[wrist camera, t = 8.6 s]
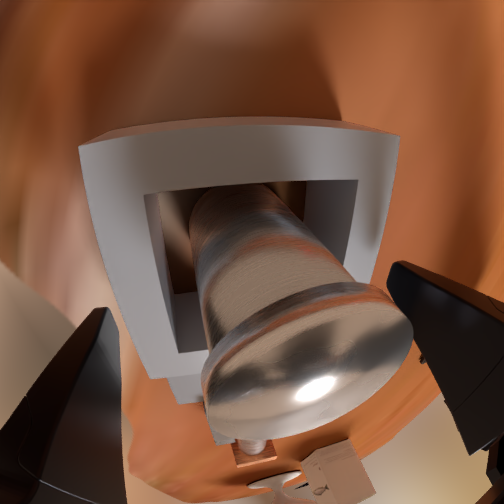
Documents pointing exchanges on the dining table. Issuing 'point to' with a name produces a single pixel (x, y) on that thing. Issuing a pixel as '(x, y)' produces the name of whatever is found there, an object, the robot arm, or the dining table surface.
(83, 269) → the dining table surface
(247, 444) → the lock pin
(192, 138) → the socket
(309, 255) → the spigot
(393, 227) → the dining table surface
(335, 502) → the supplement box
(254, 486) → the chalice
